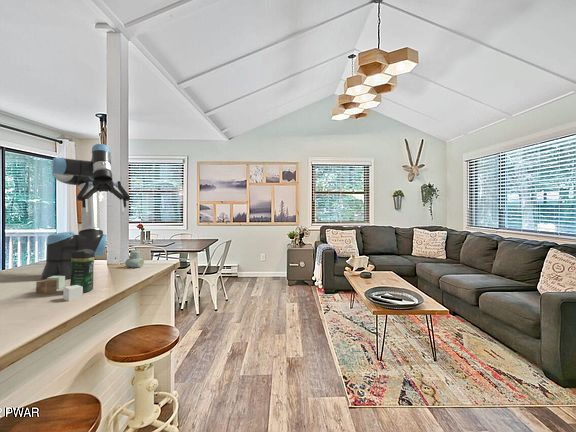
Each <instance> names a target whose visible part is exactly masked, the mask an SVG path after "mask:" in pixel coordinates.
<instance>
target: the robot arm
mask: <svg viewBox="0 0 576 432" xmlns="http://www.w3.org/2000/svg"><path fill="white" fill-rule="evenodd" d="M111 157H112V156H111V149H110V147H109V146H108V145H107V144H104V143H96V144H94V145H92V148H91V160H84V159H83V160H81V159H73V158H66V157H65V158H64V157H54V158H53V159H52V173H51V174H52V176H53V177H54V179H56V180H57V181H58V182H60V183H62V184H63V183H64V184H66V185H71V186H72V185H73V186H77V188H78V190H79V193H77V197H76V200H77V202H78V201H80V202H81V205H80V206H81V229H80V230H79V231H78V234H75V232H74V231H67V232H58V233H56V232H55V233H51V234H49V235H47V238H46V258H45V259H46V260H45V266H44V268H43V270H42V273H41V280H46V279H47V278H48V277H51V276H65V280H71V268H72V262H71V256H72V253H73V252H74V251H77V250H82V249H92V250H93V251H94V252H95V253H94V254H95V256H94V257H96V256H101V255H103V254H104V253H105V249H106V245H107V234H106V233H104V230H102V229H101V228H100V226H101V225H100V195H99V192H102V193H103V192H110V193H111V194H113V196H115V197H116V198H117V199H119V200H120V211H121V215H122V216H123V215H124V216H125V208H126V207H127V202H129V201H130V200H131V199H130V198H131V196H130V195H129V194H128V192H127V191H126V189H125V188H124V187H123V186H122V184H121V183H122V182H121V181H120V180H118V181H117V182H114V181H113V172H112V171H113V170H112V158H111ZM114 186H115V187H114ZM116 188H117V189H118V190H119V191H118V190H117V189H116Z"/></svg>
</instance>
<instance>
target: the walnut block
mask: <svg viewBox="0 0 576 432" xmlns="http://www.w3.org/2000/svg"><path fill="white" fill-rule="evenodd" d="M35 284H36V286H35V294H40V295H41V294H42V295H48V294H52V293H55V292H57V289H56V287H57V280H49V279H46V280H44V279H41V280H38V281H36V283H35Z"/></svg>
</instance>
